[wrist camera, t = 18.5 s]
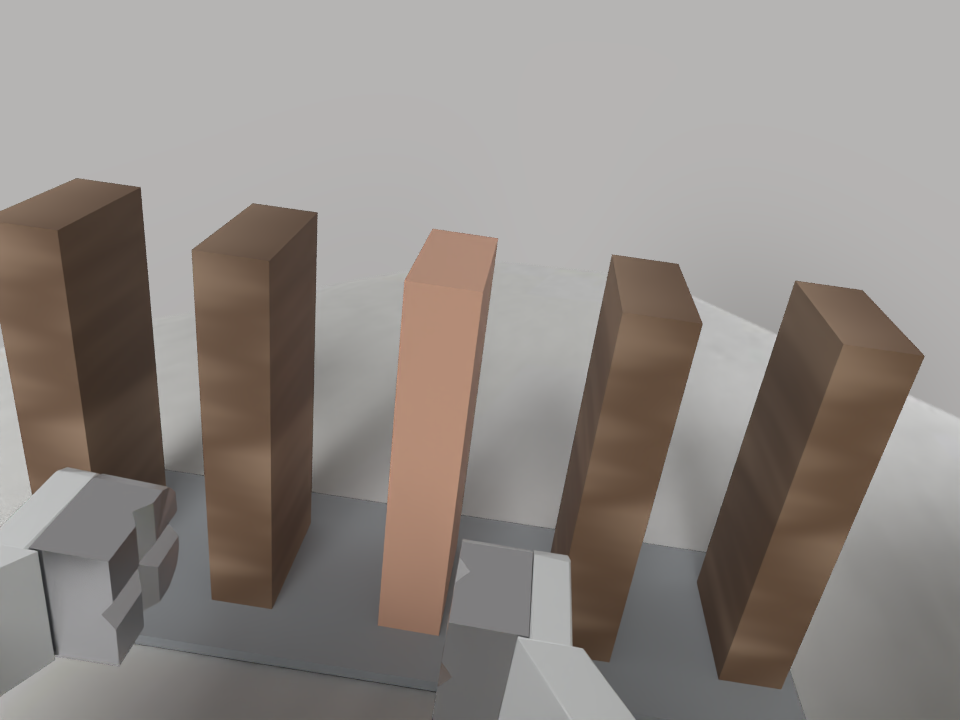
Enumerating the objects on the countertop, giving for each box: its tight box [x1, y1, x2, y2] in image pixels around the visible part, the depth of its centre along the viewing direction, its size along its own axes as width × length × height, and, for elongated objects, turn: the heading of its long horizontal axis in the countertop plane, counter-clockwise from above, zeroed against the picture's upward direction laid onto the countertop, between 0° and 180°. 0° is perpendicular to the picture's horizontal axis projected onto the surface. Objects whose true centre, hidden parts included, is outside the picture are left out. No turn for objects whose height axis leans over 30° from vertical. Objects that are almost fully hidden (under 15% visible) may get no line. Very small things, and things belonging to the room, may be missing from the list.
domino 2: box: [192, 203, 317, 609], centre depth 24 cm, size 2×4×12 cm, turn 175°
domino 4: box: [551, 255, 702, 662], centre depth 24 cm, size 2×4×12 cm, turn 175°
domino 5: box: [697, 281, 924, 689], centre depth 24 cm, size 2×4×12 cm, turn 175°
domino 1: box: [0, 178, 166, 495], centre depth 24 cm, size 2×4×12 cm, turn 175°
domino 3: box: [378, 229, 498, 636], centre depth 24 cm, size 2×4×12 cm, turn 174°
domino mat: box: [135, 470, 806, 720], centre depth 27 cm, size 25×8×1 cm, turn 85°
